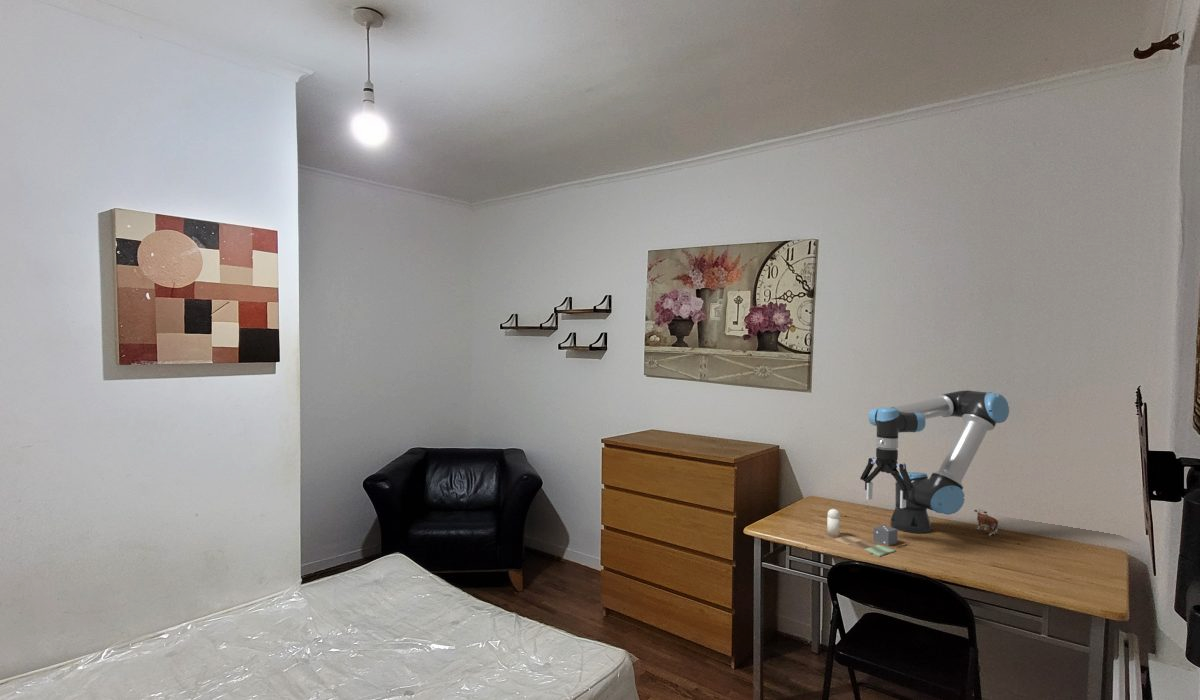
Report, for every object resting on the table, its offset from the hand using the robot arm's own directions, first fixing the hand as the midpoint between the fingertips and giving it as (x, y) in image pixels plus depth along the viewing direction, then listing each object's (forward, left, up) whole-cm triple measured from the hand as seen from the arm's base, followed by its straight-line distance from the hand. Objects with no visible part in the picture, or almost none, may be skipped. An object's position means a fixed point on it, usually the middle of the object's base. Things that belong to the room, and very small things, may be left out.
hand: (885, 503), depth 228 cm
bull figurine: (-50, +13, -16) cm, 54 cm away
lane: (+10, -6, -16) cm, 19 cm away
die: (0, 0, -16) cm, 16 cm away
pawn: (+10, -16, -15) cm, 24 cm away
